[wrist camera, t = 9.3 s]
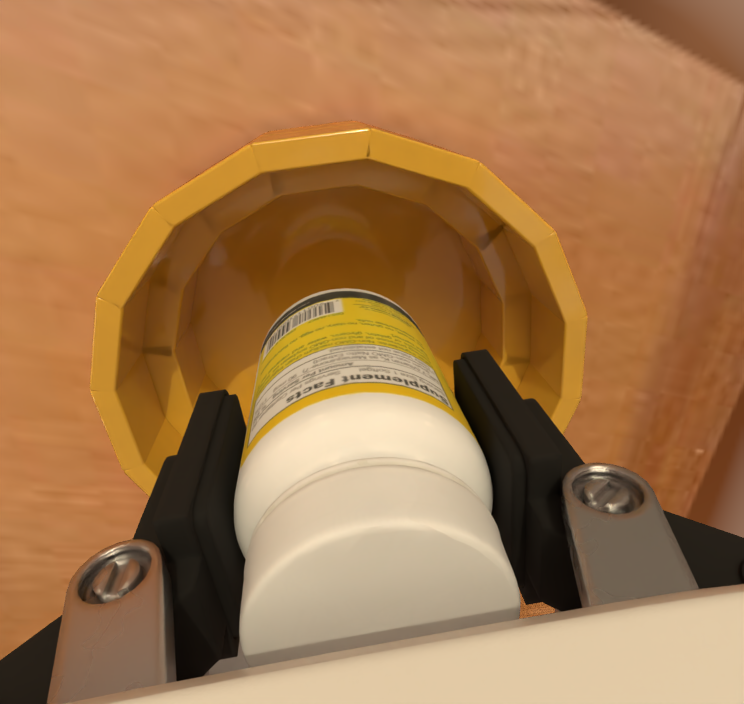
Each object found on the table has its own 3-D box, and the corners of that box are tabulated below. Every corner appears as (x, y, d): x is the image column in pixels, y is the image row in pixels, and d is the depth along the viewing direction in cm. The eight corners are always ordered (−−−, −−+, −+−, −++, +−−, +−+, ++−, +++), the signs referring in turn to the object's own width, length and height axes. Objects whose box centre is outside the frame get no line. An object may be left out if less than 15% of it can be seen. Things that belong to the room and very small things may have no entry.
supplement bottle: (396, 446, 16) (474, 746, 9) (244, 417, 15) (180, 729, 8) (450, 306, 14) (607, 533, 7) (280, 262, 13) (245, 472, 6)
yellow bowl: (94, 152, 15) (-2, 175, 10) (518, 97, 15) (606, 96, 11) (205, 489, 20) (175, 600, 16) (515, 439, 21) (572, 533, 16)
